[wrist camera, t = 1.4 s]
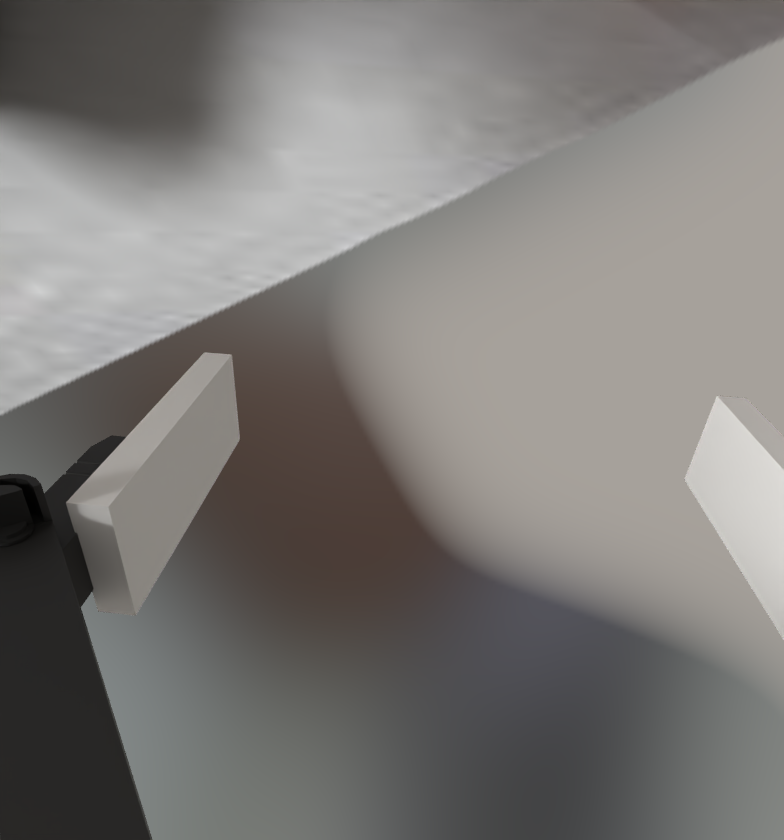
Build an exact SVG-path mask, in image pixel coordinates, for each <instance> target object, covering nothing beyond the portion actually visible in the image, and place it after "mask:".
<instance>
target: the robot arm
mask: <svg viewBox="0 0 784 840" xmlns="http://www.w3.org/2000/svg"><path fill="white" fill-rule="evenodd" d="M239 440H240V437H239V426H238V415H237V405H236V394H235V385H234V374H233V363H232V355H228V354H216V353H204V354H203V355H202V356H201V357H200V358H199V359H198V360H197V361H196V362H195V363H194V364H193V365H192V367H191V368H190V369H189V370H188V371H187V372H186V373H185V374H184V375H183V376H182V377H181V378H180V380H179V381H178V382H177V383H176V384H175V385H174V386H173V387H172V388H171V389H170V390H169V392H168V393H167V394H166V395H165V396H164V397H163V398H162V399H161V400H160V402H158V403H157V405H156V406H155V407H154V408H153V409H152V410H151V411H150V412H149V413H148V414H147V416H146V417H144V419H143V420H142V421H141V422H140V423H139V424H138V425H137V426H136V427H135V428H134V429H133V430H132V432H131V433H130V434H129V435H128V436H127V437H121V436H110V437H108V438H106V439H105V440H103V441H101V442H99V443H97V444H95V445H93V446H92V447H90V448H89V449H88V450H87V451H86V453H84V454H83V455H82V457H80V458H79V459H78V461H77V463H74V464H73V465H72V466H71V467H70V468H69V469H68V470H67V471H66V475H62V476H61V477H60V478H59V480H58V481H56V482H55V483H54V484H53V486H52V487H50V488H49V489H48V490H47V492H45V493H44V492H43V489H42V486H41V484H40V483H39V481H38V480H37V479H36V478H34V477H31V476H28V475H25V474H8V475H2V476H0V840H152V837H151V834H150V830H149V827H148V824H147V821H146V818H145V814H144V811H143V808H142V805H141V801H140V798H139V795H138V792H137V789H136V785H135V782H134V779H133V775H132V772H131V769H130V766H129V762H128V759H127V756H126V753H125V750H124V746H123V743H122V740H121V736H120V733H119V730H118V727H117V724H116V720H115V717H114V714H113V711H112V708H111V704H110V701H109V698H108V694H107V691H106V688H105V685H104V681H103V678H102V675H101V672H100V668H99V665H98V662H97V659H96V656H95V653H94V649H93V646H92V643H91V639H90V636H89V633H88V630H87V626H86V623H85V620H84V617H83V614H82V611H81V606H82V605H83V603H84V602H85V600H86V599H87V597H88V596H89V595H90V593H91V592H93V595H94V598H95V602H96V605H97V609H98V611H100V612H108V613H118V614H127V615H136V614H137V612H138V611H139V609H140V607H141V606H142V604H143V602H144V601H145V599H146V597H147V595H148V594H149V592H150V590H151V589H152V587H153V585H154V584H155V582H156V580H157V579H158V577H159V575H160V574H161V572H162V570H163V569H164V567H165V565H166V563H167V562H168V560H169V558H170V557H171V555H172V553H173V552H174V550H175V548H176V546H177V545H178V543H179V541H180V540H181V538H182V536H183V535H184V533H185V531H186V530H187V528H188V526H189V524H190V523H191V521H192V519H193V518H194V516H195V514H196V512H197V511H198V509H199V508H200V506H201V504H202V502H203V500H204V499H205V497H206V496H207V494H208V492H209V491H210V489H211V487H212V485H213V484H214V482H215V480H216V478H217V477H218V475H219V474H220V472H221V470H222V469H223V467H224V465H225V463H226V462H227V460H228V458H229V457H230V455H231V453H232V452H233V450H234V448H235V447H236V445H237V443H238V441H239ZM684 480H685V481H686V483H687V484H688V486H689V488H690V489H691V491H692V493H693V494H694V496H695V497H696V499H697V501H698V502H699V504H700V505H701V507H702V509H703V510H704V512H705V514H706V515H707V517H708V519H709V520H710V522H711V523H712V525H713V527H714V528H715V530H716V531H717V533H718V535H719V536H720V538H721V540H722V541H723V542H724V544H725V546H726V548H727V549H728V551H729V552H730V554H731V556H732V557H733V559H734V560H735V562H736V564H737V565H738V567H739V569H740V570H741V572H742V573H743V575H744V577H745V578H746V580H747V582H748V583H749V585H750V586H751V588H752V590H753V591H754V593H755V595H756V596H757V598H758V599H759V601H760V603H761V604H762V606H763V607H764V609H765V611H766V612H767V614H768V615H769V617H770V619H771V620H772V622H773V624H774V625H775V627H776V628H777V630H778V632H779V633H780V635H781V636H782V638H783V640H784V436H783V435H782V434H781V433H780V432H779V431H778V430H777V429H776V428H775V427H774V426H773V425H772V424H771V423H770V422H769V421H768V419H766V417H764V416H763V414H762V413H761V412H760V411H759V410H758V409H757V408H756V407H755V406H754V405H753V404H752V403H751V402H750V401H749V400H748V399H747V398H739V397H728V396H717V397H716V400H715V402H714V405H713V407H712V409H711V412H710V415H709V417H708V420H707V422H706V425H705V427H704V431H703V433H702V435H701V438H700V440H699V443H698V445H697V448H696V451H695V453H694V456H693V458H692V461H691V463H690V466H689V469H688V471H687V474H686V476H685V479H684Z"/></svg>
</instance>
